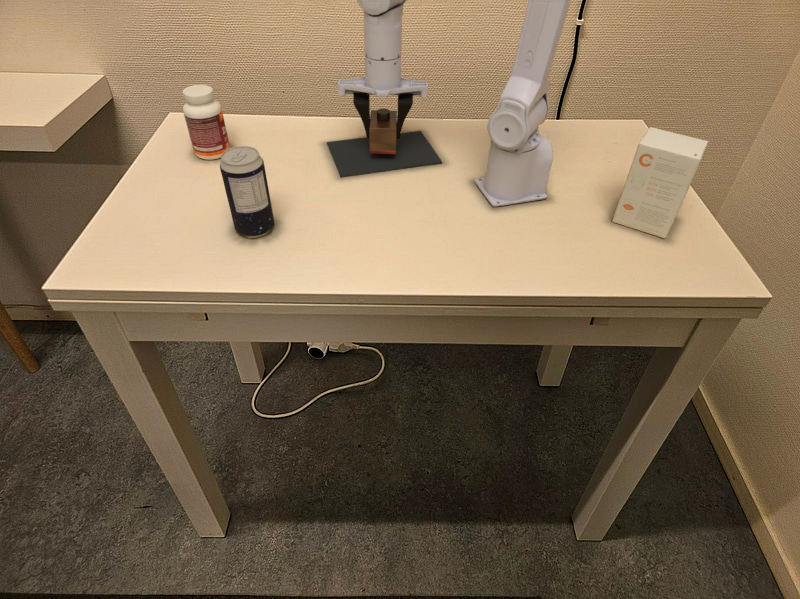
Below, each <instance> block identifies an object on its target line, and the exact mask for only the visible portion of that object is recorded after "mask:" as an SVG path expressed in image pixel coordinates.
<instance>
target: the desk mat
mask: <svg viewBox="0 0 800 599" xmlns="http://www.w3.org/2000/svg"><path fill="white" fill-rule="evenodd" d="M326 145H327V148H328V150H329V153H330V155H331V158H332V160H333V163H334V165H335V167H336V170H337V172H338V175H339V177H340V178H345V177H353V176H361V175H362V176H363V175H369V174H376V173H381V172H382V173H383V172H391V171H397V170H405V169H412V168H420V167H428V166H434V165H441V164H443V161H442V159H441V158H440V156H439V154H438V153H437V152H436V150H435V149H434V148H433V146H432V145H431V143H430V142H429V141H428V139H427V138H426V136H425V135H424V133H423V131H421V130H417V131H416V130H415V131H407V132H401V135H400V139H396V154H370V138H366V136H365V137H357V138H350V139H349V138H348V139H341V140H332V141H326Z"/></svg>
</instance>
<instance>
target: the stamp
mask: <svg viewBox="0 0 800 599" xmlns="http://www.w3.org/2000/svg"><path fill="white" fill-rule="evenodd" d="M397 115H398V110H390V109H388V108H379V109H376V110H375V109H370V126H369V138H370V154H396V128H397Z"/></svg>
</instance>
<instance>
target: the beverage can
mask: <svg viewBox="0 0 800 599" xmlns="http://www.w3.org/2000/svg"><path fill="white" fill-rule="evenodd" d="M264 162H265V161H264V158H262V156H261V155H260V151H259V150H258V149H257V148H255V147H252V146H248V145H237V146H233V147H230V149H227V150H226V151H224V152H223V153H222V155H221V158H220V163H219V169H220V170H219V171H220V174H221V177H222V182H223V186H224V190H225V194H226V199H227V202H228V206H229V211H230V215H231V219H232V224H233V228H234V231H235V232H237V233H238V234H239V235H241V236H243V237H245V238H249V239H258V238H261V237H264V236H265V235H267V234H268V233H269V232H270V231H271V230H272V229H273V228H274V226H275V218H274V217H275V216H274V211H273V207H272V206H273V205H272V200H271V195H270V190H269V184H268V178H267V172H266V167H265V163H264Z"/></svg>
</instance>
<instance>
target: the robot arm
mask: <svg viewBox="0 0 800 599" xmlns="http://www.w3.org/2000/svg"><path fill="white" fill-rule="evenodd" d="M356 1H357V3H358V5H359V7H360V8H361V9H362V11H363V41H364V42H363V43H364V45H363V46H364V77H356V78H355V77H354V78H348V79H347V78H345V79H344V78H343V79H338V80H337V81H338V82H337V94H338V95H337V96H338V97H345V96H346V95H353V96H352V97H353V100H352V103H353V106H354V108H355V110H356V111H357V113H358V115H359V117H360V119H361V122H362V124H363V128H364V131H365V137H366V138H369V126H370V116H371V106H370V102H371V100H370V98H371V96H376V97H379V98H388V97H390V96H397V128H396V139H400V135H401V133H402V131H403V130H402V129H403V126H404V123H405V121H406V119H407V117H408V114H409V112H410V111H411V109H412V107H413V104H414V96H415V97H416V96H417V97H420V98H425V99H426V98H428V92H429V83H428V81H427V80H417V79H411V78H406V77H405V78H404V77H402V39H403V38H402V34H403V33H402V31H403V28H402V27H403V15H404V5H405V3H406V2H407V1H408V0H356ZM571 2H572V0H528V3H527V7H526V12H525V16H524V19H523V24H522V28H521V32H520V35H519V40H518V44H517V48H516V52H515V56H514V60H513V64H512V67H511V68H512V69H511V72H510V76H509V78H508V80H507V81H506V82H507V83H506V84H505V86H504V88H503V90H502V92H501V94H500V97H499V100H498V105H497V106H496V108H495V110H494V111H493V112H492V113H491V114H490V115H489V118H488V119H487V124H486V132H487V135H488V137H489V139H490V142H489V148H488V156H487V163H486V170H485V176H484V177H479V178H478V177H477V178H475V179H474V184H475V185H476V186H477V187H478V189H479V190H480V192H481V193H482V194H483V195H484V197H485V198H486V200H487V201H488V202H489V204H490V205H491V206H492V207H494V208H498V207H503V206H504V207H505V206H509V205H515V204H523V203H529V202H534V201H541V200H546V199H548V195H547V194H546V190H547V186H548V181H549V178H550V173H551V169H552V166H553V160H554V152H553V150H554V149H553V146H552V143H551V141H550V139H549V138H548V137H547V136H545V135H541V134H540V131H539V127H540V126H541V125H542V124H543V123H544V122H545V121H546V120H547V118H548V116H549V113H550V102H549V91H550V89H551V82H550V79H549V76H550V73H551V69H552V66H553V63H554V60H555V56H556V52H557V49H558V46H559V42H560V39H561V36H562V32H563V29H564V26H565V22H566V18H567V16H568V12H569V8H570V5H571Z"/></svg>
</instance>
